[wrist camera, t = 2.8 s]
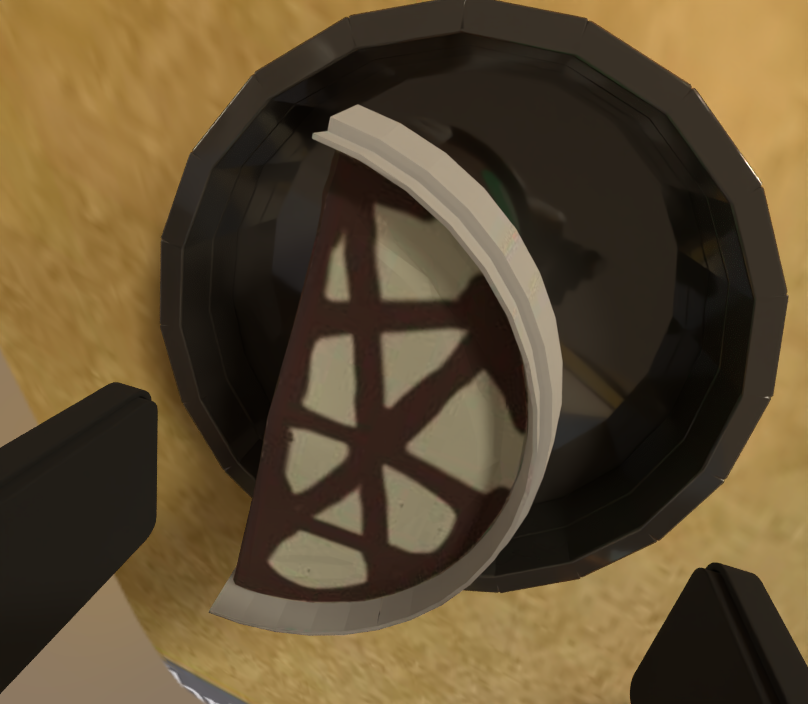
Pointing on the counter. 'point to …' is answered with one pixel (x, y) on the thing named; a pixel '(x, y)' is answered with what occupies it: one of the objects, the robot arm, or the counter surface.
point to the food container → (398, 397)
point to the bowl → (540, 232)
